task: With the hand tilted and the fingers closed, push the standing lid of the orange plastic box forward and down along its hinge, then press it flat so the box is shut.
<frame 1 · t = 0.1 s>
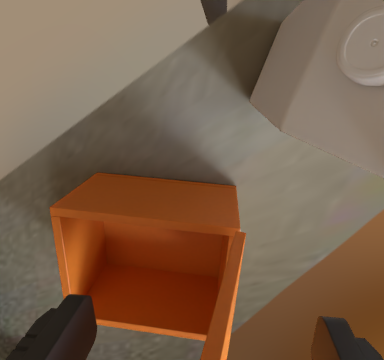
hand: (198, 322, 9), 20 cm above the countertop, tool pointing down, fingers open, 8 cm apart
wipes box: (163, 228, 31), on the countertop
milk carton: (300, 77, 24), on the countertop
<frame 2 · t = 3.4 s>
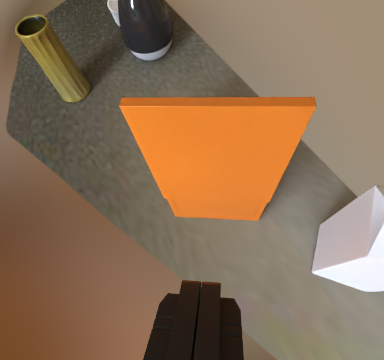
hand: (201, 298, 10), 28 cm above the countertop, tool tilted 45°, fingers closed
ramekin: (132, 19, 62), on the countertop
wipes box: (217, 172, 43), on the countertop
lid: (215, 164, 24), point 17 cm above the countertop, hinge at 88.4°
vase: (76, 91, 54), on the countertop
milk carton: (341, 256, 37), on the countertop
dark rounded cone: (152, 51, 57), on the countertop
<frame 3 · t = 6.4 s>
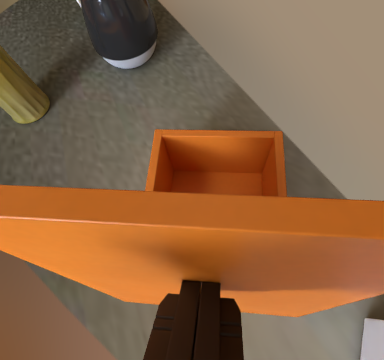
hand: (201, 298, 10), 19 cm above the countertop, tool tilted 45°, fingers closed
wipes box: (214, 229, 31), on the countertop
lid: (203, 282, 12), point 17 cm above the countertop, hinge at 83.3°, touching gripper
vase: (32, 109, 42), on the countertop
dark rounded cone: (132, 56, 44), on the countertop
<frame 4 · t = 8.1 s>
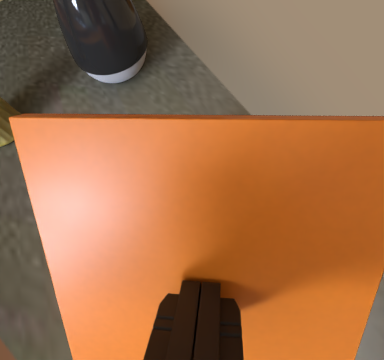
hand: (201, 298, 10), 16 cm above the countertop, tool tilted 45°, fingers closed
lid: (201, 312, 11), point 15 cm above the countertop, hinge at 46.0°, touching gripper
vase: (4, 129, 36), on the countertop
dark rounded cone: (119, 68, 39), on the countertop
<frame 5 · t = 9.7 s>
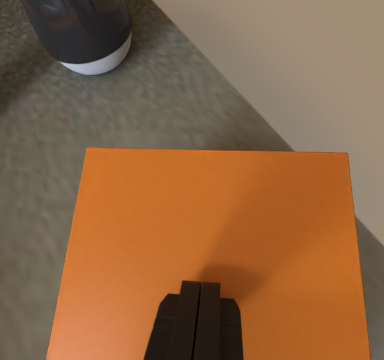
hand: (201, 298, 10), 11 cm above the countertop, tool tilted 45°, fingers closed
lid: (201, 339, 11), point 10 cm above the countertop, hinge at 7.2°, touching gripper
dark rounded cone: (101, 58, 33), on the countertop
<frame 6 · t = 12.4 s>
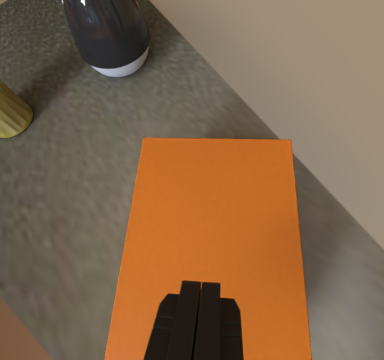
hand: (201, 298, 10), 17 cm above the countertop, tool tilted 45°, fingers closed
lid: (210, 235, 20), point 9 cm above the countertop, hinge at -0.2°, touching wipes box
vase: (14, 121, 38), on the countertop
dark rounded cone: (123, 63, 41), on the countertop
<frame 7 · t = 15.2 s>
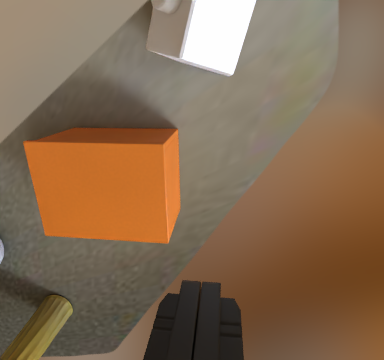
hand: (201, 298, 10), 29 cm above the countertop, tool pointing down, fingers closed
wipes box: (129, 169, 41), on the countertop
lid: (99, 193, 32), point 9 cm above the countertop, hinge at -0.2°, touching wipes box
vase: (59, 305, 53), on the countertop
milk carton: (211, 39, 33), on the countertop
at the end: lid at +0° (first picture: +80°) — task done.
